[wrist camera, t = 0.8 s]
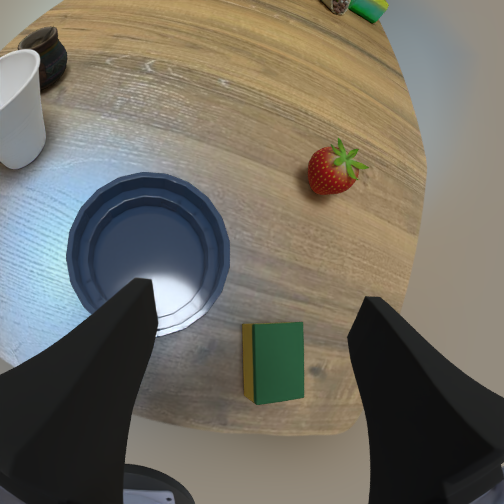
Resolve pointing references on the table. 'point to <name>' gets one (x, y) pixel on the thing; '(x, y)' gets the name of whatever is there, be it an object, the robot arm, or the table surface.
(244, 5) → the table surface
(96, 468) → the robot arm
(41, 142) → the cup
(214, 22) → the table surface
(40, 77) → the mate gourd
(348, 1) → the taco
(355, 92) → the table surface
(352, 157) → the fruit
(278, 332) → the sponge
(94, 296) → the bowl
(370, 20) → the leaf-topped green cube
